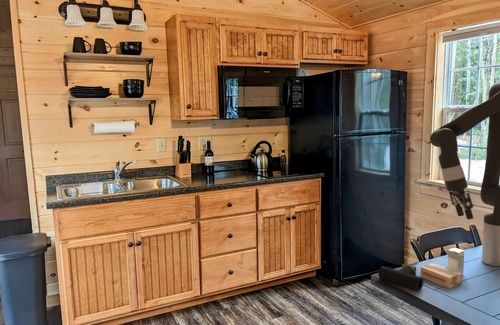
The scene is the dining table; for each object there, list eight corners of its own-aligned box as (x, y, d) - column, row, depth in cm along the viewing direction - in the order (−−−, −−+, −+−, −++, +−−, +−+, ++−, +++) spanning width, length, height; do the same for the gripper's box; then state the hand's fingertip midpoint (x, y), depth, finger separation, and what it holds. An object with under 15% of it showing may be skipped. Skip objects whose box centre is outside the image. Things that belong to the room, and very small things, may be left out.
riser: (431, 272, 152) (432, 262, 152) (460, 283, 142) (461, 273, 141) (419, 276, 148) (420, 267, 148) (448, 288, 138) (449, 278, 138)
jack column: (453, 271, 152) (454, 247, 151) (463, 274, 149) (464, 250, 148) (447, 273, 150) (448, 249, 149) (457, 277, 147) (458, 252, 146)
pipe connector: (393, 259, 154) (430, 269, 143) (392, 271, 155) (430, 282, 144) (378, 268, 146) (417, 279, 135) (378, 280, 147) (416, 293, 136)
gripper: (471, 176, 142) (483, 217, 142) (456, 174, 157) (467, 212, 156) (451, 181, 143) (463, 222, 143) (438, 179, 158) (449, 217, 157)
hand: (465, 217), depth 149 cm, fingers open, 8 cm apart
